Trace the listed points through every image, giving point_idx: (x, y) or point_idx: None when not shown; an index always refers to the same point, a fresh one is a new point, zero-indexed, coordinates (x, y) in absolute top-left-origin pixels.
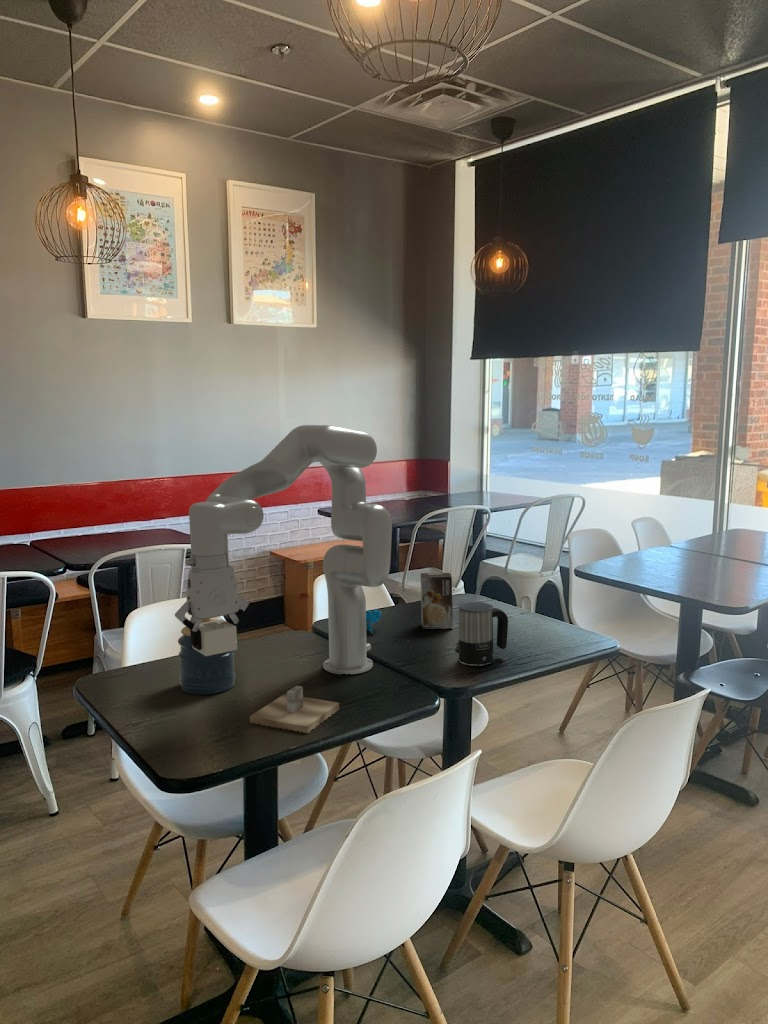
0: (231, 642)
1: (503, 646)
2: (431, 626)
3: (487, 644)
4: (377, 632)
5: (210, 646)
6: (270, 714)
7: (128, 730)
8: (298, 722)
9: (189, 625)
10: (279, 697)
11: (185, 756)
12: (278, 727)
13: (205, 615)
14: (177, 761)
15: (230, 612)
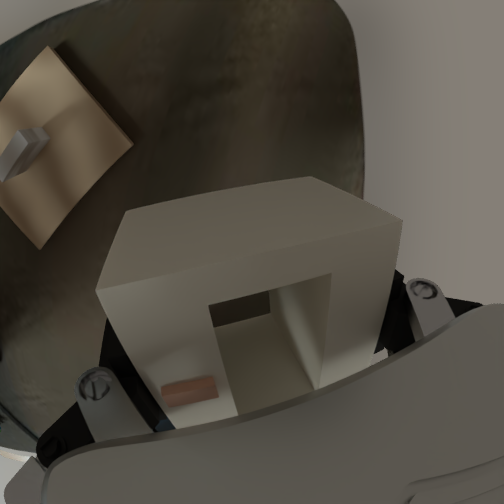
0: (157, 220)
1: None
2: None
3: None
4: None
5: (307, 192)
6: (86, 137)
7: None
8: (52, 70)
9: (455, 306)
10: (50, 234)
11: (305, 55)
12: (88, 91)
13: (480, 333)
14: (322, 47)
15: (148, 451)
